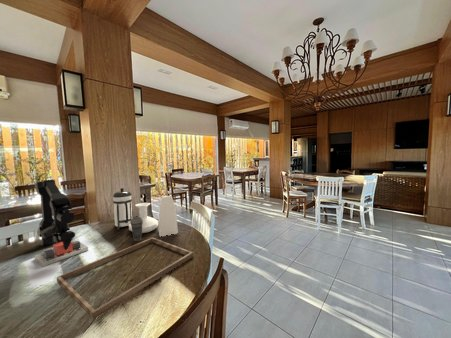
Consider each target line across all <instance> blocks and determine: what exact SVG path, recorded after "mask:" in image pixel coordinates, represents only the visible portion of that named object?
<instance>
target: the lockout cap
mask: <svg viewBox="0 0 451 338" xmlns="http://www.w3.org/2000/svg"><path fill="white" fill-rule="evenodd" d="M72 242H73V241H71V243H70V245H69V247H68V249H67V250H65V249H64V246H63V242H59V243H54V244H52V250H54V253H55V254H57V255H60V254H63V253H66V252H69V251H72V250H73V245H72Z"/></svg>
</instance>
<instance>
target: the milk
mask: <svg viewBox="0 0 451 338" xmlns="http://www.w3.org/2000/svg"><path fill="white" fill-rule="evenodd" d="M177 214H178V213H177V207H176V203H175V200H174V198H173V197H172V195H166V196H165V195H163V196H162V197H161V199H160V202H159V204H158V226H157V227H158V229H157V231H158V235H159V237H160V238H161V236H162V237H167V236H166V235H168V236H172V235H171V234H174V235H178V234H179V230H178V228H179V227H178V218H177ZM177 233H178V234H177Z"/></svg>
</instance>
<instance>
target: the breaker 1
mask: <svg viewBox="0 0 451 338" xmlns="http://www.w3.org/2000/svg"><path fill="white" fill-rule="evenodd" d="M43 253H44V257H45V258H49V257H52V256H54V252H53V248H50V249H46V250H44V251H43Z"/></svg>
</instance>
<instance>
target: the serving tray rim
mask: <svg viewBox="0 0 451 338" xmlns="http://www.w3.org/2000/svg"><path fill="white" fill-rule="evenodd" d="M151 243H153V244H157V245H159V246H161V247H164V248H167V249H169V250H171V251H173V252H176V253H179V254H181V255H184V256H183V257H180V258H179V259H177V260H176V261H174V262H172V263H171V264H168V265H167V266H165V267H164V268H162V269H161V270H159V271H157V272H156V273H154V274H152V275H150V276H149V277H147V278H146V279H144V280H143V281H140V282H139V283H137V284H135V285H134V286H132V287H131V288H128V289H127V290H126V291H124V292H123V293H121V294H119V295H117V296H115V297H113V298H112V299H111V300H109V301H107V302H106V303H104V304H102V305H100V306H99V307H97V308H96V309H95V308H94V307H93V306H92V305H91V304H90V303H88V301H87V300H85V298H84V297H82V296H81V295H80V294H79V293H78V292H77V291H76V290H75V289H74V288H73V287H72V286H71V285H70V284H69V283H68V282H67V281H66V280H68V279H72V278H73V277H76V276H78V275H80V274H83V273H86V272H87V271H89V270H92V269H95V268H96V267H98V266H101V265H103V264H105V263H108V262H110V261H112V260H114V259H115V260H116V259H117V258H120V257H121V256H124V255H126V254H129V253H131V252H133V251H135V250H138V249H140V248H142V247H145V246H147V245H149V244H151ZM193 257H194V252H193V251H190V250H187V249H185V248H182V247H179V246H177V245H174V244H171V243H170V242H169V243H168V242H167V241H164V240H161V239H158V238H156V237H153V236H152V237H150V238H148V239H145V240H143V241H141V242H138V243H136V244H133V245H131V246H129V247H126V248H124V249H122V250H119V251H117V252H113V253H112V254H109V255H106V256H104V257H102V258H99V259H97V260H95V261H92V262H90V263H87V264H85V265H83V266H80V267H77V268H75V269H73V270H71V271H68V272H65V273H63V274H61V275H59V276H56V283H57V284H58V285H59V286H60V287H61V288H62V289H63V290H64V291H65V292H66V294H67V295H69V297H71V299H73V301H74V302H75V301H76V302H77V303H78V304H79V305H80V306H81V307H82V308H83V309H84V310H85V311H86V312H87V313H88V314H89V315H90V316H91V317H92V318H93V319H94V318H95V317H97V316H99V315H101V314H102V313H104V312H105V313H107V312H108V310H109V309H110V310H112V309H113V308H115V307H116V306H118V305H120V304H122V303H123V302H124V301H126V300H128V299H129V298H131V297H132V296H134V295H135V294H137V293H139V292H140V291H142V290H143V289H145V288H146V287H148V286H149V284H150V285H151V284H153V283H154V282H156V281H157V280H159V279H160V277H161V278H162V277H164V276H165V275H167V274H168V273H170V272H172V271H173V270H174V268H175V269H176V268H178V267H180V266H181V265H182V263H183V264H184V263H186V262H187V261H189V260H190V259H192V258H193ZM177 266H178V267H177ZM171 270H172V271H171ZM169 271H170V272H169ZM166 273H167V274H166ZM163 275H164V276H163ZM155 280H156V281H155ZM144 287H145V288H144ZM138 291H139V292H138ZM133 294H134V295H133ZM130 296H131V297H130ZM76 302H75V303H76ZM77 303H76V304H77ZM119 303H120V304H119ZM78 304H77V305H78ZM79 305H78V306H79ZM114 306H115V307H114ZM81 307H80V308H81ZM82 308H81V309H82ZM111 308H112V309H111ZM83 309H82V310H83ZM84 310H83V311H84ZM110 310H109V311H110ZM85 311H84V312H85ZM106 311H107V312H106ZM86 312H85V313H86ZM87 313H86V314H87ZM105 313H104V314H105ZM88 314H87V315H88ZM89 315H88V316H89ZM102 315H103V314H102ZM102 315H101V316H102ZM90 316H89V317H90ZM91 317H90V318H91ZM99 317H100V316H99ZM92 318H91V319H92ZM93 319H92V320H93ZM94 320H95V319H94Z"/></svg>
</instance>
